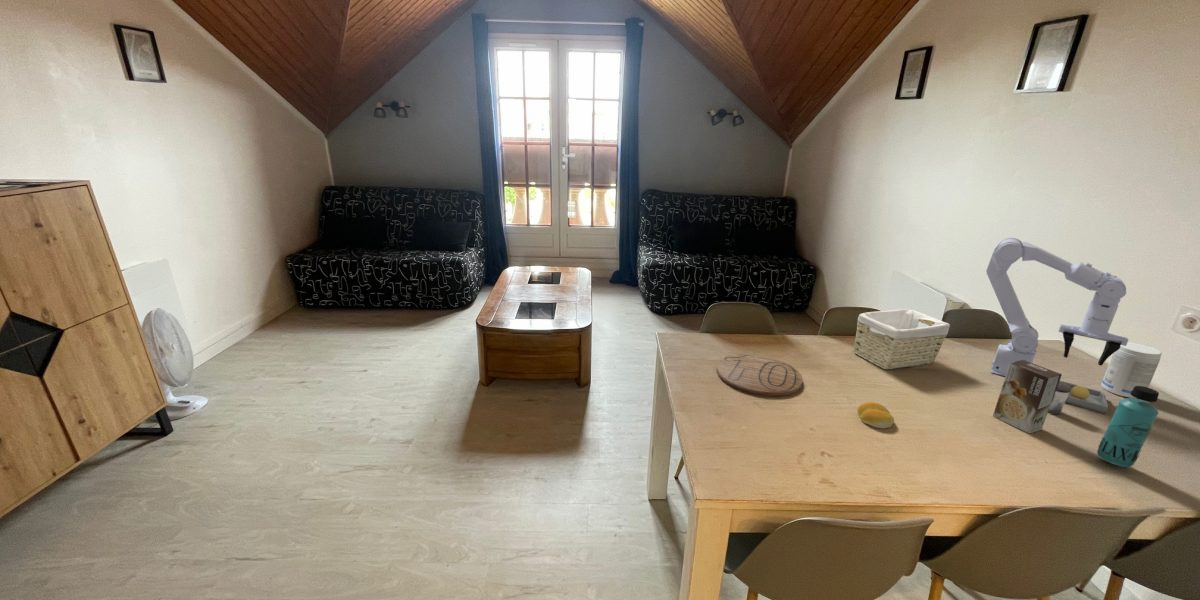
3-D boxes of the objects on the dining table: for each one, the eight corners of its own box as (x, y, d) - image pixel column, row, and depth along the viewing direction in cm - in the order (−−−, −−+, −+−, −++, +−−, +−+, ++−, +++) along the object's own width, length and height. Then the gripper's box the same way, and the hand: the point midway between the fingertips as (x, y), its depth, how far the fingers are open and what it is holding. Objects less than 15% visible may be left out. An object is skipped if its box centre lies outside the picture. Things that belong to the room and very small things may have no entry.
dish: (1049, 398, 146) (1051, 392, 146) (1049, 384, 155) (1051, 378, 154) (1105, 413, 139) (1108, 407, 139) (1101, 397, 148) (1104, 391, 147)
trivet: (709, 386, 146) (710, 380, 145) (722, 353, 168) (723, 348, 167) (800, 406, 137) (802, 399, 137) (802, 368, 159) (803, 362, 159)
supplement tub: (1147, 394, 151) (1167, 350, 146) (1139, 402, 146) (1159, 357, 141) (1104, 381, 159) (1122, 338, 154) (1095, 388, 154) (1113, 344, 149)
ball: (1067, 397, 147) (1070, 395, 144) (1070, 385, 148) (1074, 382, 145) (1085, 403, 145) (1089, 400, 142) (1089, 390, 145) (1093, 387, 142)
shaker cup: (1038, 410, 140) (1048, 384, 137) (1038, 404, 143) (1048, 378, 140) (1061, 417, 137) (1072, 390, 134) (1061, 410, 140) (1071, 384, 137)
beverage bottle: (1085, 455, 120) (1117, 381, 113) (1110, 455, 121) (1143, 381, 114) (1114, 473, 114) (1149, 396, 107) (1140, 473, 114) (1177, 396, 108)
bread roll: (863, 427, 128) (867, 414, 127) (853, 409, 136) (856, 396, 135) (898, 432, 127) (902, 418, 125) (885, 413, 135) (889, 400, 134)
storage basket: (899, 345, 180) (909, 307, 175) (941, 365, 165) (954, 324, 160) (847, 352, 172) (856, 312, 167) (886, 374, 158) (897, 330, 153)
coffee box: (1043, 429, 130) (1064, 374, 125) (1029, 434, 128) (1050, 378, 123) (1005, 411, 138) (1023, 359, 133) (990, 415, 136) (1009, 362, 130)
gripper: (1066, 314, 146) (1050, 357, 150) (1136, 328, 137) (1117, 372, 142) (1065, 309, 151) (1050, 349, 155) (1132, 321, 142) (1114, 364, 147)
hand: (1082, 360), depth 149 cm, fingers open, 7 cm apart
